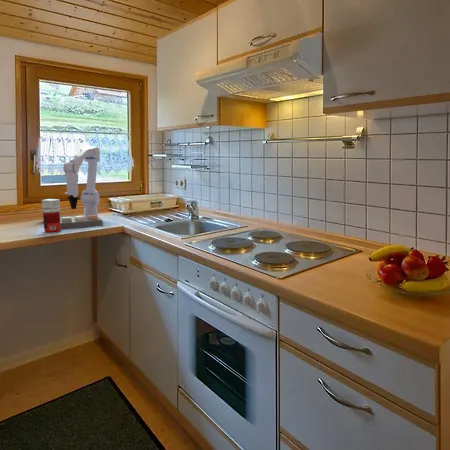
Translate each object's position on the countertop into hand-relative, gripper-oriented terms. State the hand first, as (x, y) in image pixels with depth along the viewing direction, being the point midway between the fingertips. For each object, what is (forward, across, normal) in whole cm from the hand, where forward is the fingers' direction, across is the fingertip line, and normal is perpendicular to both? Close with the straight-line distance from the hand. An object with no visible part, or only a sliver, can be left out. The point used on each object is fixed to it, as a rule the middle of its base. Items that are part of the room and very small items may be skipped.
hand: (73, 208), depth 219 cm
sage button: (+8, 0, -4) cm, 9 cm away
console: (+10, 0, +3) cm, 10 cm away
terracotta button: (+7, 0, +10) cm, 12 cm away
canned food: (+10, +11, -13) cm, 20 cm away
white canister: (+10, -25, -8) cm, 28 cm away
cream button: (+8, 0, +3) cm, 8 cm away
